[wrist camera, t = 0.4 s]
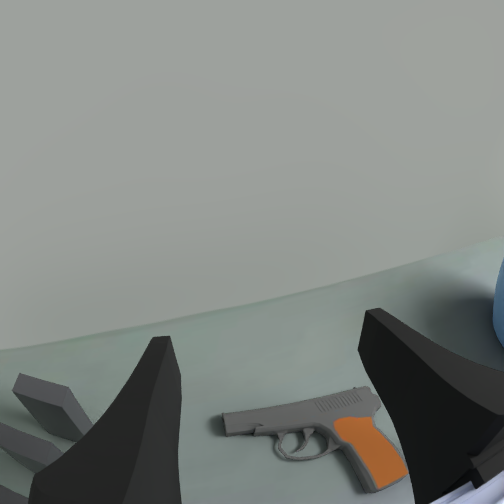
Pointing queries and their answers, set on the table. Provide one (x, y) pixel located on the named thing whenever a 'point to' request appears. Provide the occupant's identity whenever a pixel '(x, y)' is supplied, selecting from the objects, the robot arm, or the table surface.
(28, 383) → the domino end
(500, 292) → the planter
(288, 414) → the handgun
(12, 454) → the domino
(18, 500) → the domino
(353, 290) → the table surface
